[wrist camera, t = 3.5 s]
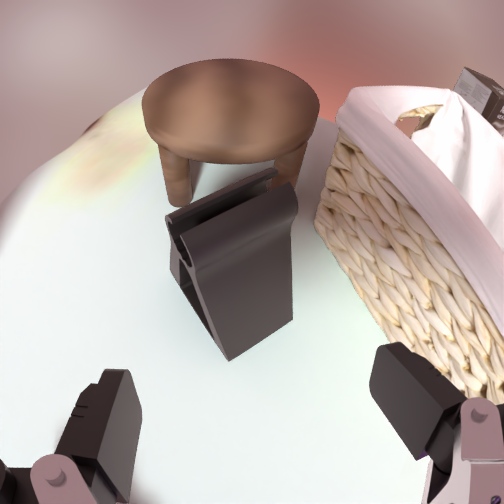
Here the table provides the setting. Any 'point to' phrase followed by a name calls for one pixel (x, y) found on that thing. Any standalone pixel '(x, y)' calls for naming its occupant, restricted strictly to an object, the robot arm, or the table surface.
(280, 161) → the stool
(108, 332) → the table surface
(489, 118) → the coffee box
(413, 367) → the robot arm
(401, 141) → the storage basket
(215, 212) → the phone stand
